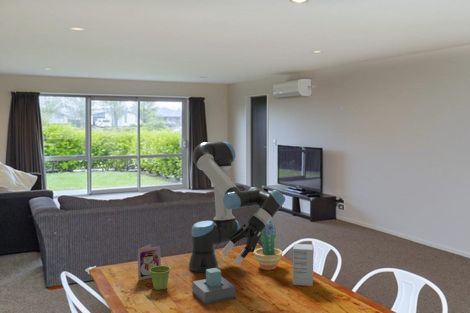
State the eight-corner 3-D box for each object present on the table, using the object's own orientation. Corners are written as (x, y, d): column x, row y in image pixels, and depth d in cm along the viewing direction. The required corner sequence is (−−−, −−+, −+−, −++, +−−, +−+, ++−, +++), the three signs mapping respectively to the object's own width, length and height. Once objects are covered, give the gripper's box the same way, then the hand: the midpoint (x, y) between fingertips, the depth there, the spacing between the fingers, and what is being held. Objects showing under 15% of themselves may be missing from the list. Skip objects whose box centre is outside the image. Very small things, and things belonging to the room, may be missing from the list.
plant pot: (174, 285, 194) (174, 266, 193) (164, 292, 185) (164, 273, 185) (156, 282, 197) (156, 264, 196) (145, 290, 188) (145, 271, 188)
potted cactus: (248, 269, 214) (248, 221, 212) (258, 260, 228) (258, 215, 227) (278, 273, 208) (277, 223, 207) (286, 264, 222) (286, 217, 221)
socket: (192, 292, 185) (192, 281, 185) (221, 286, 191) (221, 276, 191) (204, 304, 172) (204, 292, 172) (235, 297, 179) (235, 286, 178)
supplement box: (312, 286, 191) (313, 249, 190) (292, 285, 193) (292, 248, 192) (313, 279, 200) (313, 244, 199) (293, 277, 202) (293, 243, 201)
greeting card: (139, 281, 200) (138, 250, 198) (133, 276, 206) (132, 246, 205) (161, 276, 206) (161, 246, 205) (155, 272, 212) (155, 242, 211)
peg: (206, 292, 183) (205, 269, 182) (216, 290, 185) (216, 267, 184) (210, 296, 178) (210, 273, 178) (221, 294, 181) (221, 271, 180)
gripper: (279, 231, 179) (248, 272, 174) (251, 219, 201) (223, 255, 196) (268, 220, 176) (236, 261, 171) (241, 210, 199) (212, 245, 193)
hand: (229, 258), depth 183 cm, fingers open, 13 cm apart
